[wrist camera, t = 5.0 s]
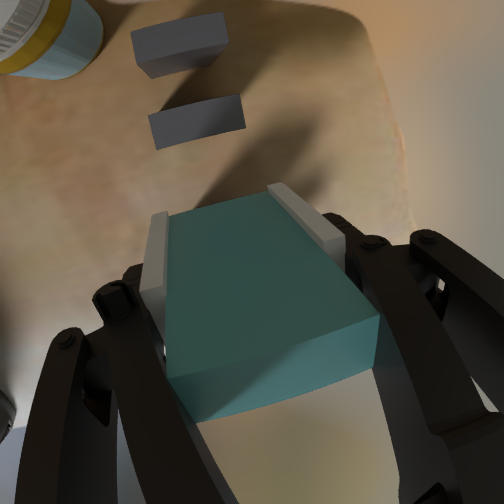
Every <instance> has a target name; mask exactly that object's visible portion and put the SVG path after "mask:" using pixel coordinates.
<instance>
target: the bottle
mask: <svg viewBox="0 0 504 504" xmlns="http://www.w3.org/2000/svg"><path fill="white" fill-rule="evenodd" d="M103 39H104V26H103V23H102V20H101V18H100V16H99V15H98V14H97V13H96V11H95V10H94V9H93V8H92V7H91V6H90V5H89V4H88V2H87V1H86V0H0V74H4V75H16V76H26V77H34V78H42V79H50V80H62V79H67V78H70V77H73V76H75V75H76V74H78V73H80V72H82V71H83V70H84V69H85V68H86V67H87V66H89V65H90V64H91V63H92V61H93V60H94V59H95V57H96V56H97V54H98V53H99V51H100V48H101V45H102V43H103Z"/></svg>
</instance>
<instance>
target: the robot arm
mask: <svg viewBox="0 0 504 504" xmlns="http://www.w3.org/2000/svg"><path fill="white" fill-rule="evenodd" d="M267 188H268V193H269V194H270V195H271V196H272V197H273V198H274V199H275V200H276V201H277V202H278V203H279V204H280V205H281V206H282V207H283V208H284V209H285V210H286V211H287V212H288V213H289V215H290V216H291V217H292V218H293V219H294V220H295V221H296V222H297V223H298V224H299V225H300V226H301V227H302V228H303V229H304V230H305V232H306V233H307V234H308V235H309V236H310V237H311V238H312V239H313V240H314V241H315V242H316V243H317V245H318V246H319V247H320V248H321V249H322V250H323V251H324V252H326V253H327V254H328V256H329V257H330V258H331V259H332V260H333V261H334V262H335V263H336V264H337V265H338V267H339V268H340V269H341V270H342V271H343V272H344V273H345V274H346V276H347V277H348V278H349V279H350V280H351V281H352V282H353V283H354V285H355V286H356V287H357V288H358V289H359V290H360V291H361V293H362V294H363V295H364V296H365V297H366V298H367V299H368V301H369V302H370V303H371V304H372V305H373V306H374V308H375V309H376V310H377V311H378V312H379V313H380V319H379V328H378V336H377V344H376V351H375V358H374V364H373V367H372V371H373V374H374V378H375V381H376V384H377V388H378V391H379V395H380V399H381V402H382V406H383V409H384V413H385V417H386V421H387V424H388V429H389V432H390V436H391V440H392V445H393V449H394V453H395V457H396V461H397V466H398V471H399V476H400V483H399V490H398V491H399V504H504V279H503V278H501V277H500V276H499V275H497V274H496V273H495V272H493V271H492V270H491V269H489V268H488V267H487V266H486V265H484V264H483V263H481V262H480V261H479V260H477V259H476V258H474V257H473V256H472V255H470V254H469V253H468V252H466V251H465V250H463V249H462V248H461V247H459V246H458V245H456V244H455V243H453V242H452V241H450V240H449V239H447V238H446V237H444V236H443V235H442V234H440V233H437V232H436V231H432V230H429V229H426V230H425V229H422V230H417V231H415V232H413V233H412V234H411V235H410V243H409V244H406V245H395V246H392V245H391V243H390V242H389V241H388V240H387V239H386V238H383V237H381V236H377V235H364V234H363V233H362V232H361V231H359V230H358V229H357V228H356V227H354V226H352V224H351V223H349V222H347V220H345V219H344V218H343V217H342V216H340V215H337V214H334V213H331V212H330V213H326V214H322V215H321V214H320V213H319V212H318V211H316V210H315V209H314V208H313V207H312V206H310V205H309V204H308V203H307V202H306V201H304V200H303V199H302V198H301V197H300V196H298V195H297V194H296V193H295V192H294V191H292V190H291V189H290V188H289V187H287V186H286V185H285V184H284V183H282V182H279V183H275V184H270V185H267ZM168 232H169V216H168V213H167V211H165V212H161V213H158V214H155V215H152V218H151V224H150V229H149V234H148V239H147V245H146V251H145V257H144V263H141V264H138V265H134V266H131V267H129V268H128V269H127V271H126V272H125V273H124V274H123V278H122V280H116V281H113V282H109V283H108V284H106V285H104V286H102V287H101V288H100V289H98V290H97V291H96V293H95V294H94V295H93V298H92V301H93V303H94V305H95V307H96V309H97V311H98V313H99V314H100V316H101V318H102V320H103V323H104V326H103V327H101V328H100V329H98V330H96V331H94V332H92V333H90V334H88V335H84V333H83V332H82V330H81V329H80V328H77V327H72V328H68V329H65V330H63V331H62V332H60V333H58V334H57V336H56V337H55V338H54V339H53V340H52V342H51V344H50V347H49V350H48V353H47V356H46V359H45V362H44V365H43V368H42V371H41V375H40V378H39V381H38V385H37V388H36V392H35V395H34V399H33V403H32V407H31V411H30V415H29V419H28V423H27V428H26V433H25V437H24V442H23V447H22V452H21V458H20V464H19V470H18V477H17V485H16V493H15V503H14V504H118V500H117V499H118V498H117V419H118V409H119V414H120V418H121V422H122V425H123V430H124V434H125V437H126V441H127V445H128V448H129V452H130V455H131V459H132V462H133V465H134V468H135V472H136V475H137V478H138V481H139V484H140V487H141V490H142V493H143V495H144V498H145V501H146V504H239V503H238V501H237V499H236V497H235V496H234V494H233V492H232V491H231V489H230V487H229V486H228V484H227V482H226V480H225V478H224V477H223V475H222V473H221V471H220V469H219V467H218V466H217V464H216V462H215V461H214V458H213V456H212V454H211V453H210V451H209V449H208V447H207V445H206V443H205V441H204V439H203V437H202V435H201V433H200V431H199V429H198V427H197V425H196V423H195V422H194V421H193V419H192V418H191V416H190V415H189V413H188V411H187V410H186V408H185V407H184V405H183V404H182V402H181V400H180V399H179V397H178V396H177V394H176V392H175V391H174V389H173V387H172V386H171V384H170V382H169V381H168V379H167V376H166V356H165V354H164V345H165V347H166V334H165V303H166V296H167V258H168ZM439 279H441V280H442V281H443V282H445V286H444V290H443V291H442V290H441V289H439V288H438V284H439ZM471 377H472V378H473V379H474V381H475V382H476V383H477V384H478V386H479V387H480V388H481V389H482V390H483V392H484V393H485V394H486V396H487V397H488V398H489V399H490V401H491V402H492V403H493V404H494V406H495V407H496V408H497V409H498V411H499V412H489V411H488V410H487V409H486V408H485V406H484V404H483V402H482V399H481V397H480V395H479V393H478V391H477V389H476V387H475V385H474V383H473V381H472V379H471ZM14 420H15V410H14V408H13V406H12V404H11V403H10V401H9V400H8V399H7V397H6V396H5V395H4V394H3V393H2V392H1V391H0V444H1V442H2V441H3V440H4V438H5V437H6V436H7V434H8V433H9V431H10V430H11V429H12V427H13V424H14Z"/></svg>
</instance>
